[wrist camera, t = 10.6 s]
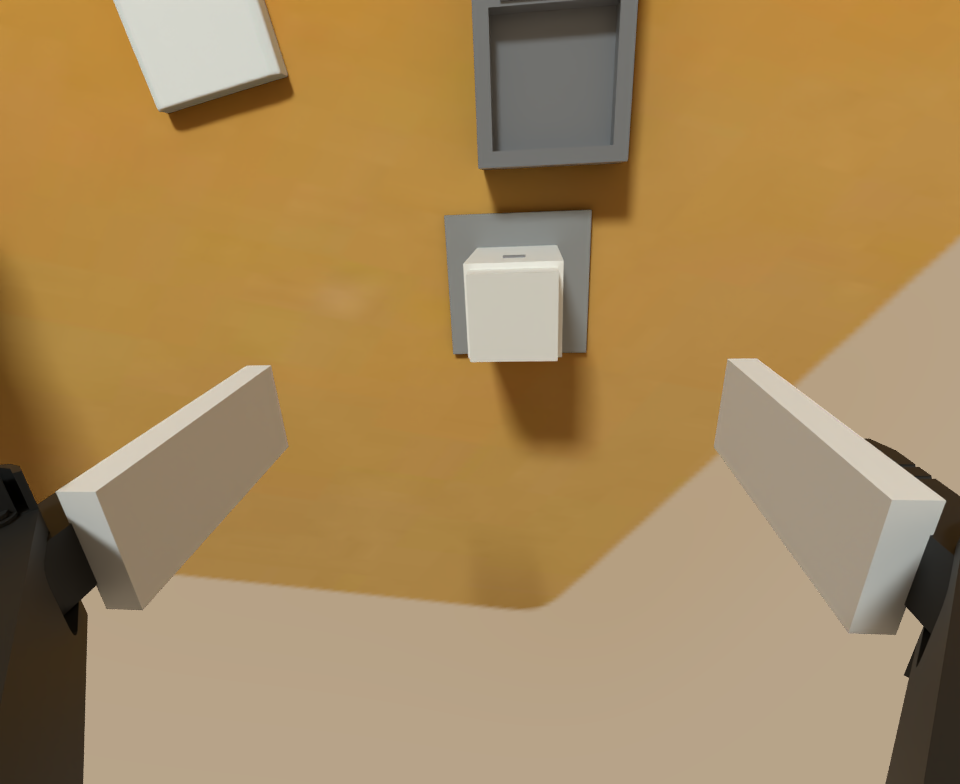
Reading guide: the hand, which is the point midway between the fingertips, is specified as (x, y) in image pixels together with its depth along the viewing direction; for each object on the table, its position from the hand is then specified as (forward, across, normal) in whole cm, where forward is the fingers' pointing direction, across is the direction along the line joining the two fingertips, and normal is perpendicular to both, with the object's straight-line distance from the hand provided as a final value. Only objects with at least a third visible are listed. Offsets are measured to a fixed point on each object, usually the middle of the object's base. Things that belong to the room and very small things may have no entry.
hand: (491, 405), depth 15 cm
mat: (+20, +1, 0) cm, 20 cm away
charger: (+19, 0, 0) cm, 19 cm away
